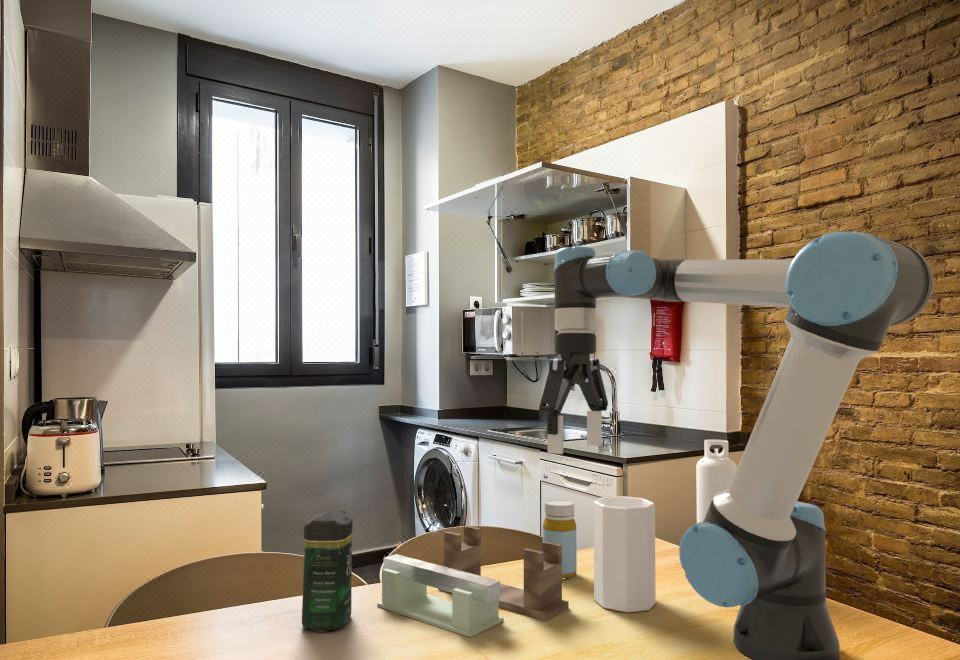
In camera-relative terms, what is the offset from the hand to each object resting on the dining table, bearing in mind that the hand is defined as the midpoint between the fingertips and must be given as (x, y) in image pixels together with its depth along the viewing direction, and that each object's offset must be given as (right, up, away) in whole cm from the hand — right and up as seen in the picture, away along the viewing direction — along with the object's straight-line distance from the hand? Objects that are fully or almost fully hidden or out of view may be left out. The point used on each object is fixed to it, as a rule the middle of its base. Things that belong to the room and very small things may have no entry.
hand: (575, 449), depth 125 cm
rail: (-25, -24, -3) cm, 34 cm away
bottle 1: (-1, -30, +19) cm, 35 cm away
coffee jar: (-43, -29, -7) cm, 53 cm away
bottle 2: (+32, -30, +18) cm, 47 cm away
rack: (-13, -29, +5) cm, 32 cm away
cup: (+10, -29, +3) cm, 31 cm away
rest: (-25, -29, -3) cm, 38 cm away
